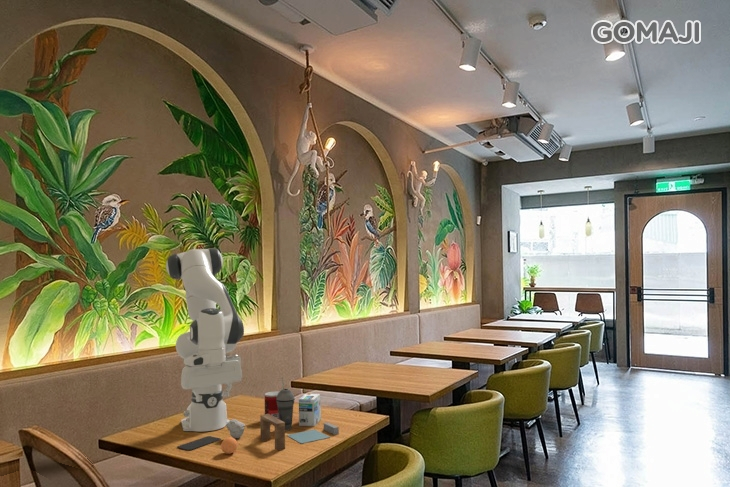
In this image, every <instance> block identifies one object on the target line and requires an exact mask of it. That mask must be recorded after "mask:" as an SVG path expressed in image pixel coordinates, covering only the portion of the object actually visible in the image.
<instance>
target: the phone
mask: <svg viewBox="0 0 730 487" xmlns="http://www.w3.org/2000/svg"><path fill="white" fill-rule="evenodd" d="M221 440H222V438H220V437H216V436H211V435H207V436H204V437H201V438H198V439H195V440H192V441H189V442H185V443H183V444H180V445H178V446H177V447H176V449H179V450H182V451H186V452H191V451H194V450H197V449H201V448H203V447H205V446H208V445H210V444H214V443H217V442H219V441H221Z"/></svg>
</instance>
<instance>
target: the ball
mask: <svg viewBox="0 0 730 487" xmlns="http://www.w3.org/2000/svg"><path fill="white" fill-rule="evenodd" d="M220 447H221V451H222V452H223V453H225V454H227V455H231V454H233V453H235V452H236V450H237V448H238V441H237V439H236V438H233V437H232V436H228V437H226V438H224V439H223V440H222V442H221V446H220Z"/></svg>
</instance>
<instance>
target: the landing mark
mask: <svg viewBox="0 0 730 487" xmlns="http://www.w3.org/2000/svg"><path fill="white" fill-rule="evenodd" d="M286 437H288V438H289V439H291V440H294V441H296V442H297V443H298V444H300V445H303V444H307V443H311V442H316V441H317V442H318V441H321V440H326V439H330V438H331V436H329V435H327V434H326V433H325V434H324V433H323V432H320V431H319V430H317V429H315V428H314V429H310V430H305V431H300V432H295V433H291V434H287V435H286Z"/></svg>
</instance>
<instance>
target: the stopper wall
mask: <svg viewBox="0 0 730 487" xmlns="http://www.w3.org/2000/svg"><path fill="white" fill-rule="evenodd" d="M339 430H340V429H339V426H337V425H335V424H332V423H330V422H324V423H323V431H325V432H327V433H329V434H332V435H334V436H335V435H339V432H340V431H339Z"/></svg>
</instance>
